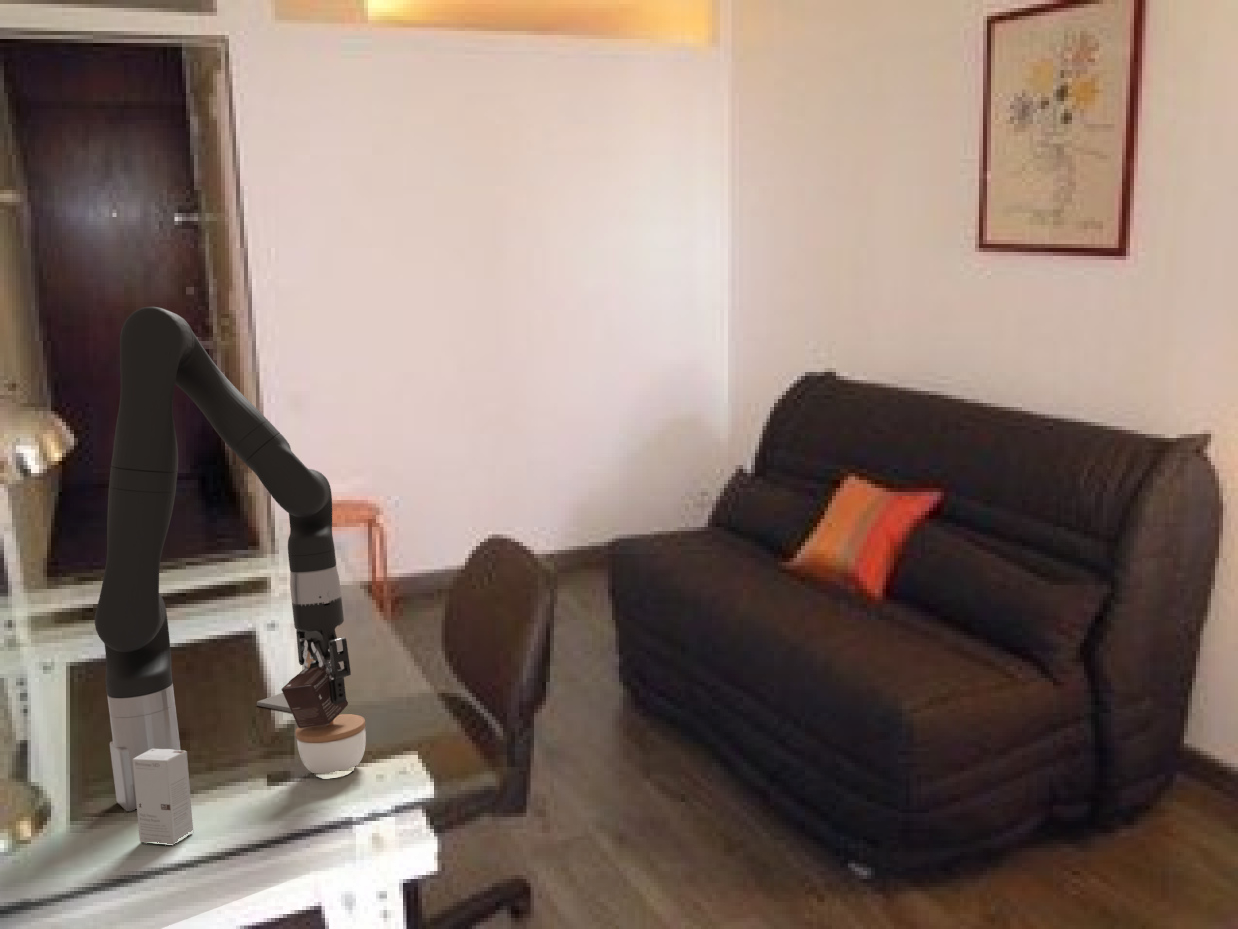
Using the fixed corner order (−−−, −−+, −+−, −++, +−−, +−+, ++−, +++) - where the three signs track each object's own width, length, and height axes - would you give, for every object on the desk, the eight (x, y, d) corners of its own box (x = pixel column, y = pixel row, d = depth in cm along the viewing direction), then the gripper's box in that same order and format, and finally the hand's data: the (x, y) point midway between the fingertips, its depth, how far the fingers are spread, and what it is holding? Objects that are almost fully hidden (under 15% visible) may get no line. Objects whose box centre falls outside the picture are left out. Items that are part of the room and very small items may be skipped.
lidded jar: (379, 758, 173) (373, 702, 173) (355, 784, 163) (349, 724, 162) (316, 761, 175) (310, 705, 174) (289, 786, 164) (282, 727, 163)
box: (328, 726, 163) (310, 685, 161) (298, 729, 166) (279, 689, 164) (349, 704, 169) (332, 664, 167) (319, 708, 171) (302, 668, 169)
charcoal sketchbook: (302, 714, 201) (301, 710, 201) (257, 705, 210) (256, 701, 210) (343, 698, 209) (343, 694, 209) (299, 691, 218) (298, 687, 218)
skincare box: (138, 844, 147) (127, 759, 146) (161, 830, 151) (151, 747, 150) (175, 847, 145) (164, 760, 144) (197, 833, 149) (187, 749, 148)
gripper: (275, 596, 169) (286, 695, 171) (312, 607, 158) (323, 713, 160) (320, 587, 174) (330, 684, 175) (358, 597, 163) (369, 700, 164)
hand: (327, 697), depth 168 cm, fingers open, 8 cm apart
